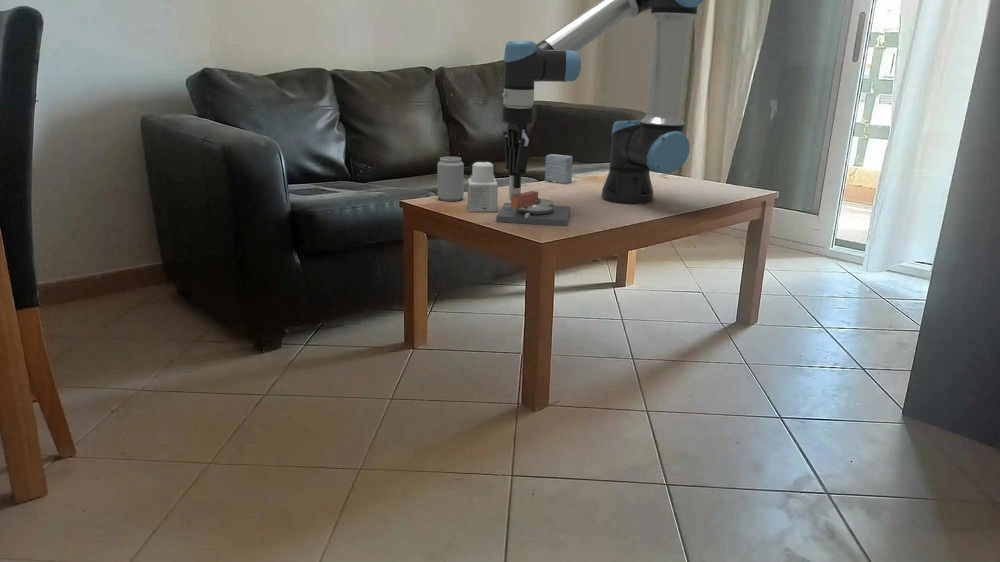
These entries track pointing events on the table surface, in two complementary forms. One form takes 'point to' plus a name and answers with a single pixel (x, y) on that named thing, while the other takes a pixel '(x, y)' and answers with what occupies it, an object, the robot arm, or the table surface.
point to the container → (482, 187)
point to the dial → (531, 203)
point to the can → (450, 178)
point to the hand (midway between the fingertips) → (514, 199)
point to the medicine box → (558, 168)
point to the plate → (534, 216)
